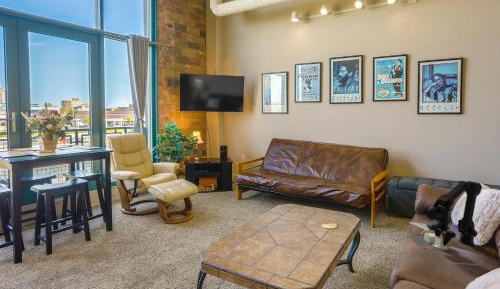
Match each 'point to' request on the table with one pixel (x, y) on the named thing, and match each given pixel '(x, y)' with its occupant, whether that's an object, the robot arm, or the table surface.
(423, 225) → the crown molding
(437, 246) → the coaster
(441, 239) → the cream block
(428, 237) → the cream labeled box
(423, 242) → the mat
